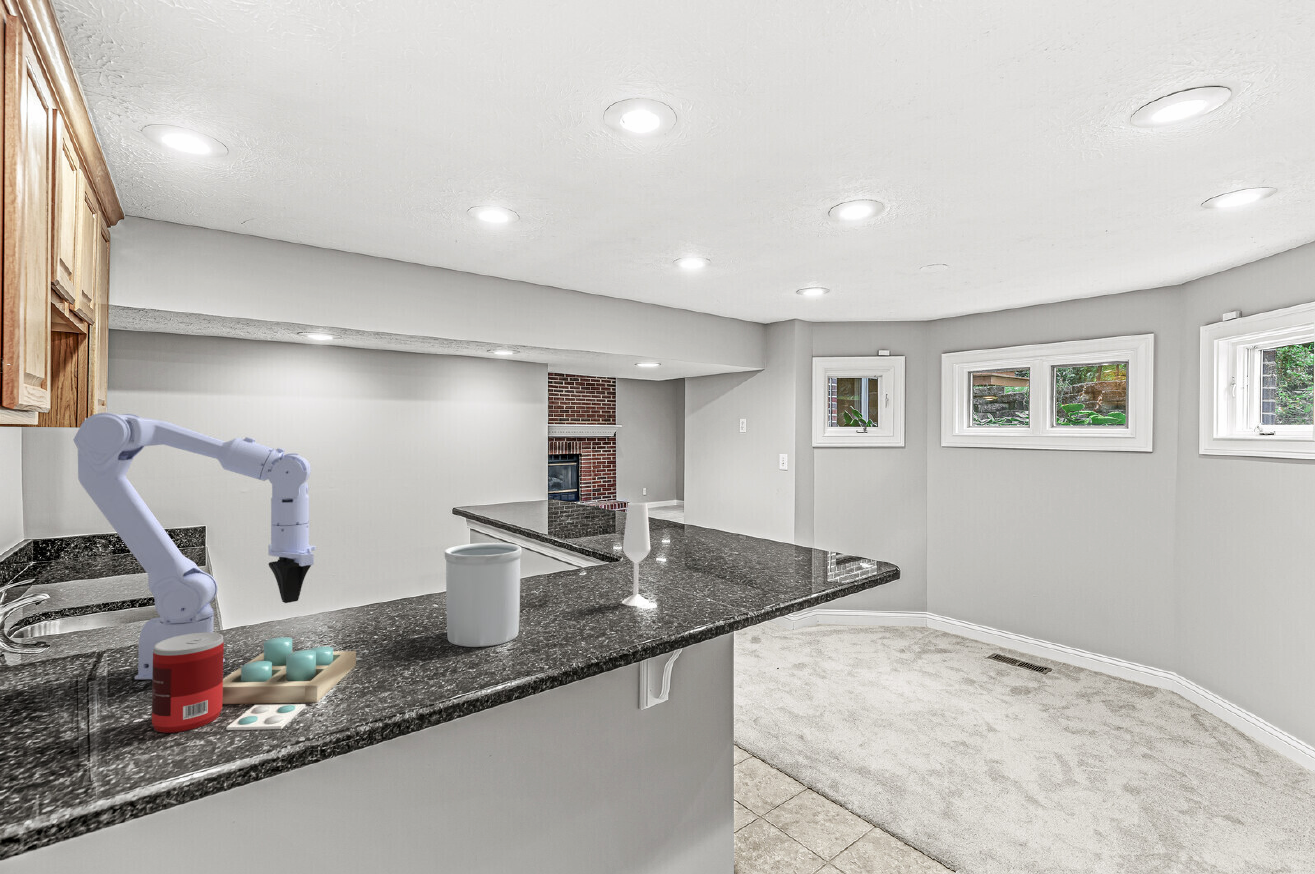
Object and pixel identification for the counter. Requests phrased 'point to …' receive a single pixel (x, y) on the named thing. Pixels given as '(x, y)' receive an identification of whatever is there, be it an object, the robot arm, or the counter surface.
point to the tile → (266, 717)
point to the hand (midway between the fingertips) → (290, 601)
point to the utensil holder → (482, 593)
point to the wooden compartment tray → (288, 683)
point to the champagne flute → (636, 545)
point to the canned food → (187, 681)
